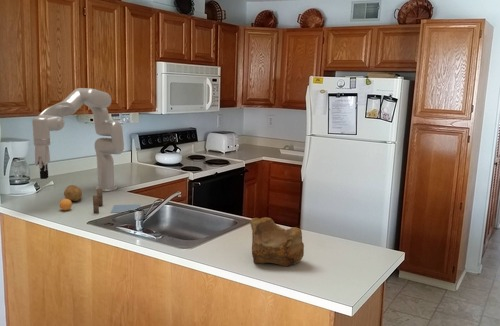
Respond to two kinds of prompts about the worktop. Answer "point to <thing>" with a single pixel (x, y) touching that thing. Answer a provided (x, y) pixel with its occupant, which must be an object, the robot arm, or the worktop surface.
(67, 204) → the ball
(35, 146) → the robot arm
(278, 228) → the rough brown rock
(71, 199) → the potato
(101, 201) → the inner post
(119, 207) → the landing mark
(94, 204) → the outer post
